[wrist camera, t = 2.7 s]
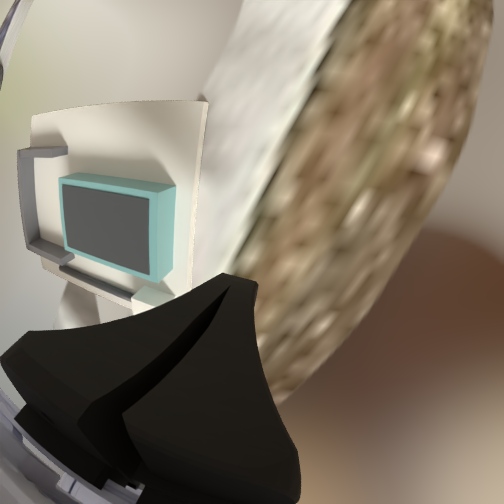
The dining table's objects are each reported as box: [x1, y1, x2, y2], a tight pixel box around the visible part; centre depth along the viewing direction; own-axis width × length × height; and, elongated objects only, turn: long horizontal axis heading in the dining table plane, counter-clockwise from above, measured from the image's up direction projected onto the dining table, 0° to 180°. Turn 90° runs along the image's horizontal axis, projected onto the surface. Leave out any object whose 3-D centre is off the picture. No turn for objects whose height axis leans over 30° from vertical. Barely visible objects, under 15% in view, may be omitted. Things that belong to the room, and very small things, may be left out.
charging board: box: [17, 101, 209, 315], centre depth 15 cm, size 16×14×2 cm
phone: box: [58, 172, 176, 284], centre depth 14 cm, size 8×5×2 cm, turn 83°
